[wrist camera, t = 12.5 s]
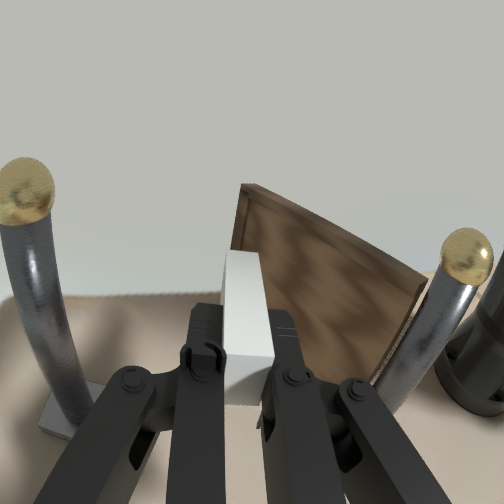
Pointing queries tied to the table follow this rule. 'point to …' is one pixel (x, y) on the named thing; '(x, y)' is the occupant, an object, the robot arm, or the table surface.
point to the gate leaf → (327, 284)
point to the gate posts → (86, 393)
